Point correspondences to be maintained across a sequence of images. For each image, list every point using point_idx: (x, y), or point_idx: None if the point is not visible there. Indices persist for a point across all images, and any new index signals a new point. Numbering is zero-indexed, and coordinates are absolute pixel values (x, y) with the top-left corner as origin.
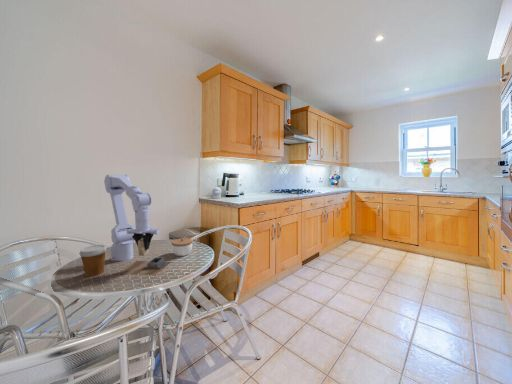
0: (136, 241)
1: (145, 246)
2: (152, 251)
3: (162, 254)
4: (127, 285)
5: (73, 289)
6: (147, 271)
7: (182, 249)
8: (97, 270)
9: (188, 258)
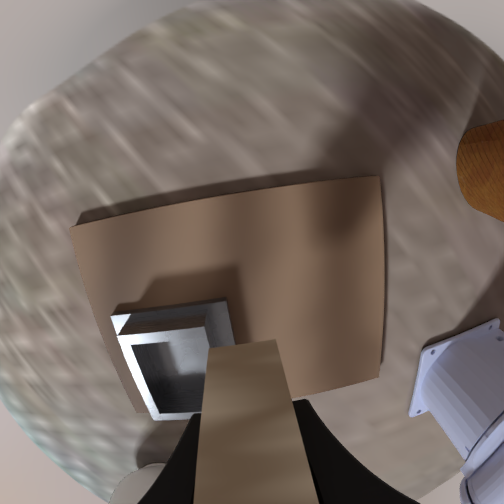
0: (362, 491)
1: (185, 447)
2: None
3: None
4: (174, 67)
5: (437, 17)
6: (165, 258)
7: (122, 491)
8: (483, 142)
9: (108, 451)
